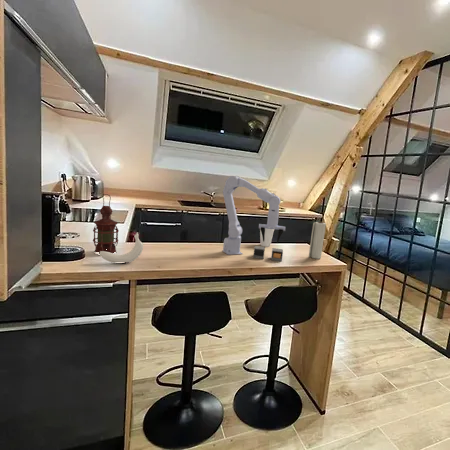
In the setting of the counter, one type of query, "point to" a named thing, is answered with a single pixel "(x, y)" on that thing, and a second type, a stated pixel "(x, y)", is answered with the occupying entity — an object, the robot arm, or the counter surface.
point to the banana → (125, 257)
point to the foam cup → (266, 237)
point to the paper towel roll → (317, 240)
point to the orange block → (277, 254)
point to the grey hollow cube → (259, 252)
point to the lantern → (106, 231)
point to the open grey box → (277, 251)
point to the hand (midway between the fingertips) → (270, 241)
